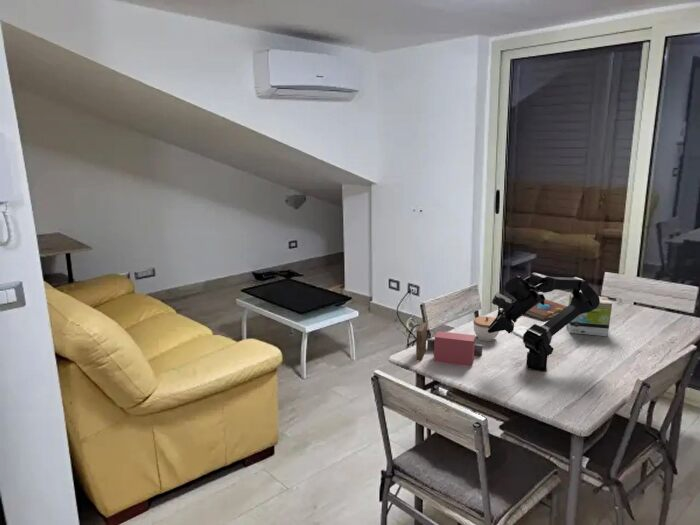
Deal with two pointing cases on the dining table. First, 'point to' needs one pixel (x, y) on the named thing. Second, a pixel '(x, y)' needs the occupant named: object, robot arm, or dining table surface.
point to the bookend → (432, 343)
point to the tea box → (593, 319)
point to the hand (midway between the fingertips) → (488, 330)
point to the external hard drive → (519, 331)
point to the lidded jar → (484, 328)
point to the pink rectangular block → (454, 348)
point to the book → (545, 310)
